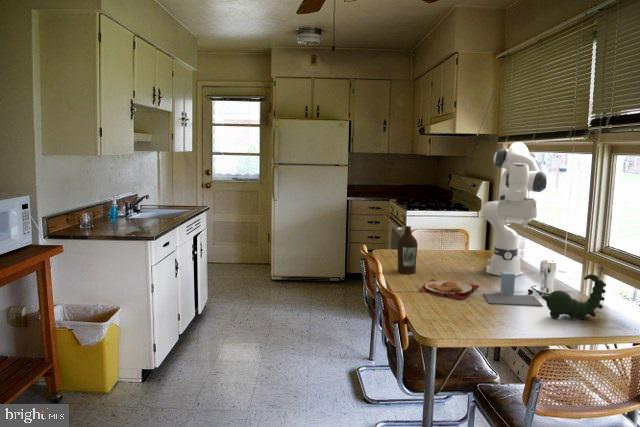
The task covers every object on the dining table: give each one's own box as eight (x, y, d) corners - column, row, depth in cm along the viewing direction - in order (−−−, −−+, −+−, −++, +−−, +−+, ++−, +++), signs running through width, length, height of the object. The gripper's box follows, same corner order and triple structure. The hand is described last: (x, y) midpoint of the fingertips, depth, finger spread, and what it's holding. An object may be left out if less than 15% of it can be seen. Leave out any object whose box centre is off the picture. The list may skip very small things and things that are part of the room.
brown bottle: (394, 269, 274) (395, 225, 271) (412, 269, 275) (414, 224, 272) (399, 274, 263) (401, 228, 260) (419, 274, 265) (420, 227, 262)
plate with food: (479, 289, 241) (479, 282, 241) (463, 301, 219) (464, 293, 219) (431, 282, 253) (431, 275, 253) (412, 293, 232) (413, 286, 232)
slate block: (500, 292, 233) (501, 271, 232) (511, 292, 232) (512, 271, 231) (502, 295, 228) (503, 273, 227) (513, 295, 228) (515, 274, 226)
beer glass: (545, 294, 229) (547, 262, 227) (535, 290, 236) (537, 259, 234) (557, 293, 231) (560, 262, 229) (547, 289, 238) (549, 258, 236)
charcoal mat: (483, 294, 229) (483, 293, 229) (533, 296, 226) (533, 295, 226) (488, 303, 215) (489, 302, 215) (542, 306, 212) (542, 305, 212)
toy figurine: (590, 317, 204) (532, 313, 202) (598, 272, 202) (539, 267, 199) (605, 325, 195) (544, 321, 192) (613, 278, 192) (552, 273, 190)
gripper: (541, 198, 226) (538, 229, 227) (505, 196, 244) (503, 224, 245) (531, 198, 223) (529, 229, 224) (495, 196, 241) (494, 224, 242)
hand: (515, 226), depth 234 cm, fingers open, 8 cm apart
